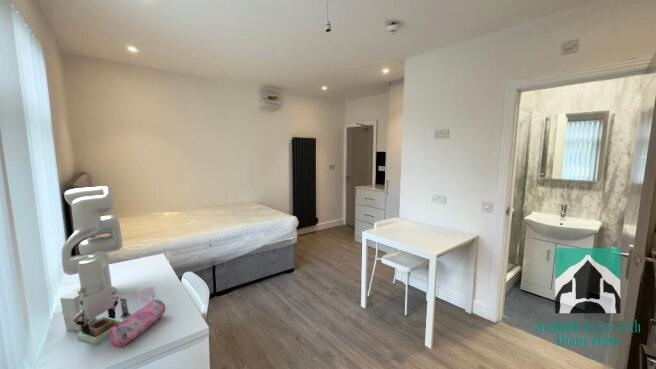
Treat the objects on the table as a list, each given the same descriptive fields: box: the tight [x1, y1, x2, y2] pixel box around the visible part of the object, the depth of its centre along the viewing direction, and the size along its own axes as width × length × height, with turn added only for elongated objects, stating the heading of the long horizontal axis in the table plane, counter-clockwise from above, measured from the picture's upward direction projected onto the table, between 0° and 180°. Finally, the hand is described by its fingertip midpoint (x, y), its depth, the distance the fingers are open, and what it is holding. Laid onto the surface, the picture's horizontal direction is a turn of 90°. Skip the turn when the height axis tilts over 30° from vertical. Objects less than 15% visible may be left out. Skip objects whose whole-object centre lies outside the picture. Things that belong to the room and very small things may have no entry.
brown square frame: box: [86, 317, 116, 337], centre depth 112 cm, size 7×7×4 cm
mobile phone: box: [137, 286, 157, 304], centre depth 141 cm, size 8×1×15 cm
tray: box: [76, 317, 123, 346], centre depth 112 cm, size 11×11×2 cm
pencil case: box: [109, 299, 166, 348], centre depth 113 cm, size 21×9×9 cm, turn 169°
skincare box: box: [59, 287, 97, 332], centre depth 117 cm, size 8×7×16 cm
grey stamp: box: [119, 297, 131, 319], centre depth 123 cm, size 4×4×8 cm
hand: (100, 325), depth 112 cm, fingers open, 9 cm apart
